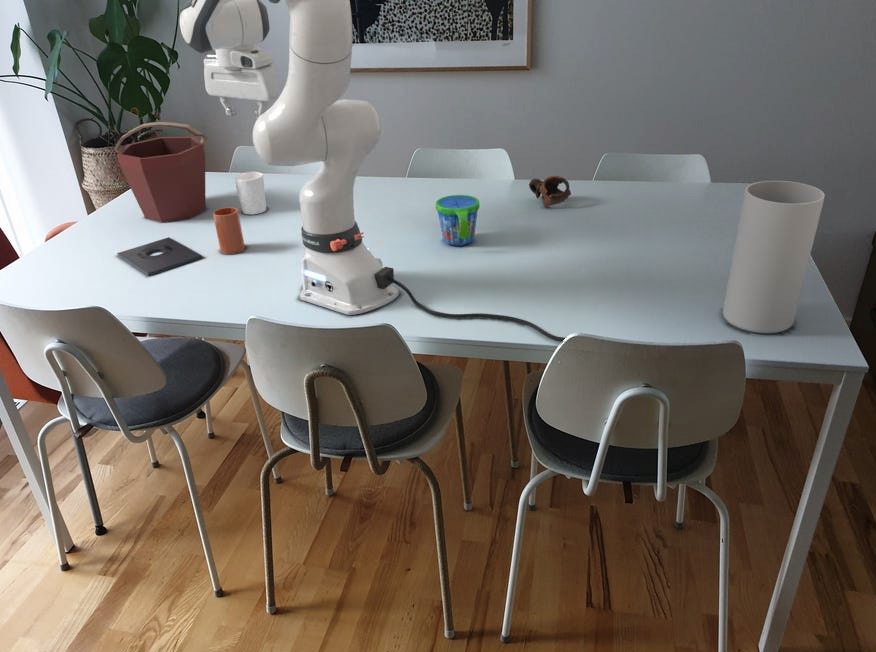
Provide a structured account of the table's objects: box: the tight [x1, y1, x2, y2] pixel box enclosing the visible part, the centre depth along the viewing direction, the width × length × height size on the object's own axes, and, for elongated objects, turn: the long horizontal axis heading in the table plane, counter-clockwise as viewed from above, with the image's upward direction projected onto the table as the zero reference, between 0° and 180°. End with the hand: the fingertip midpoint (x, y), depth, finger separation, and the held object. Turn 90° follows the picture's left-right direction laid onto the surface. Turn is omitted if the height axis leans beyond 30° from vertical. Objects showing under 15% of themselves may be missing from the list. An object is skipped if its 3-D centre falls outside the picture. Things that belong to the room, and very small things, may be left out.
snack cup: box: [435, 194, 481, 247], centre depth 179 cm, size 16×10×10 cm
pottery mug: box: [528, 175, 572, 209], centre depth 200 cm, size 12×10×8 cm
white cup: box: [233, 171, 267, 215], centre depth 206 cm, size 8×8×10 cm
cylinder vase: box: [722, 180, 826, 334], centre depth 134 cm, size 12×12×25 cm
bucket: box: [114, 121, 208, 223], centre depth 204 cm, size 24×22×25 cm
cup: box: [212, 206, 246, 255], centre depth 182 cm, size 6×6×10 cm
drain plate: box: [116, 236, 203, 277], centre depth 182 cm, size 18×14×1 cm
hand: (246, 117), depth 176 cm, fingers open, 8 cm apart
